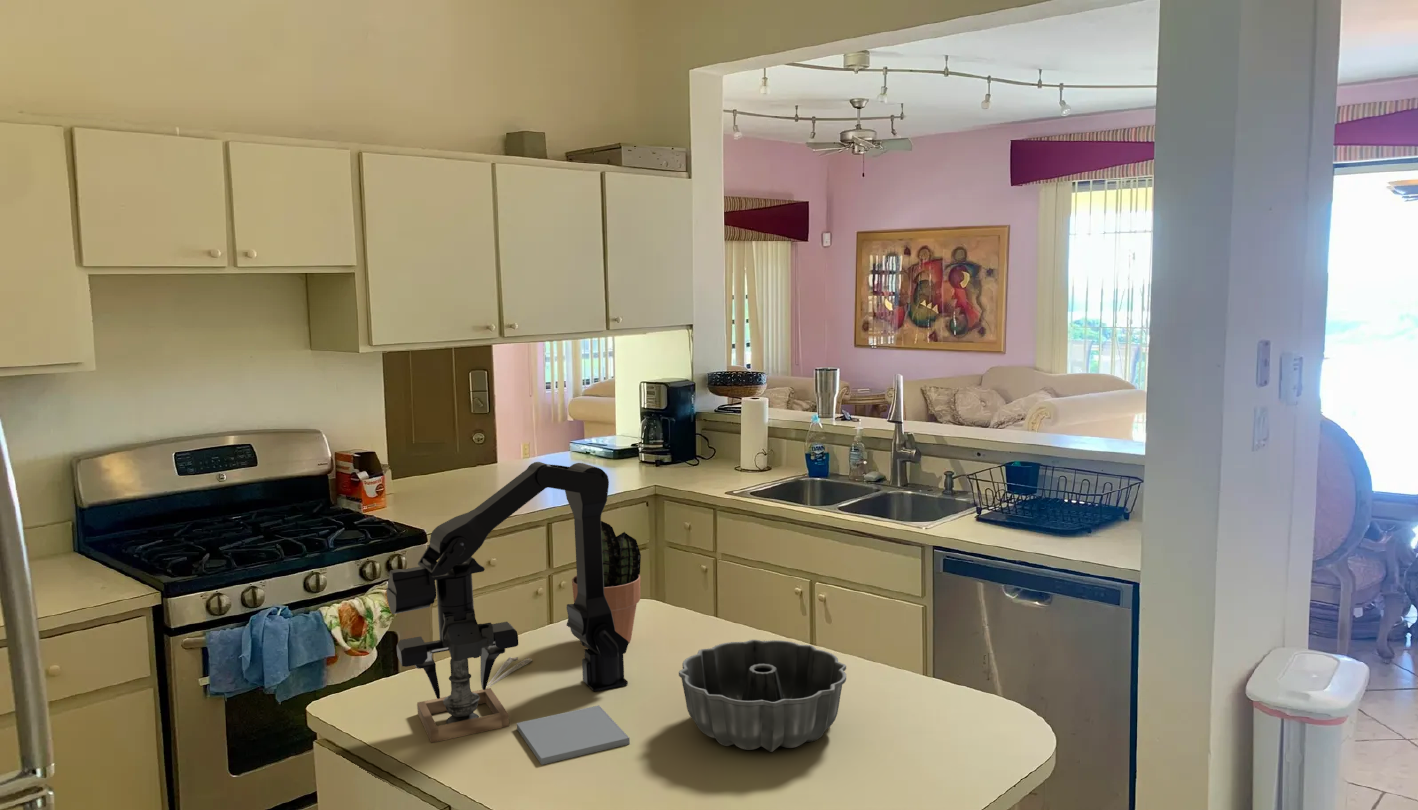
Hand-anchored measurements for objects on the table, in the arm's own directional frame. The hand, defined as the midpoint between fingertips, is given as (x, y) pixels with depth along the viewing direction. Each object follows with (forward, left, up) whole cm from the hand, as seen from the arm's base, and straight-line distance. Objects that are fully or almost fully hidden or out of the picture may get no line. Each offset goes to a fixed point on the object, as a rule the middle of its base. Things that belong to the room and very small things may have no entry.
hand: (461, 693), depth 164 cm
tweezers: (-10, -16, -5) cm, 19 cm away
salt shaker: (0, 0, -5) cm, 5 cm away
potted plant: (-34, -23, -5) cm, 41 cm away
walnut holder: (0, 0, -4) cm, 4 cm away
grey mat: (-14, +15, -4) cm, 21 cm away
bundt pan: (-42, +27, -5) cm, 50 cm away
